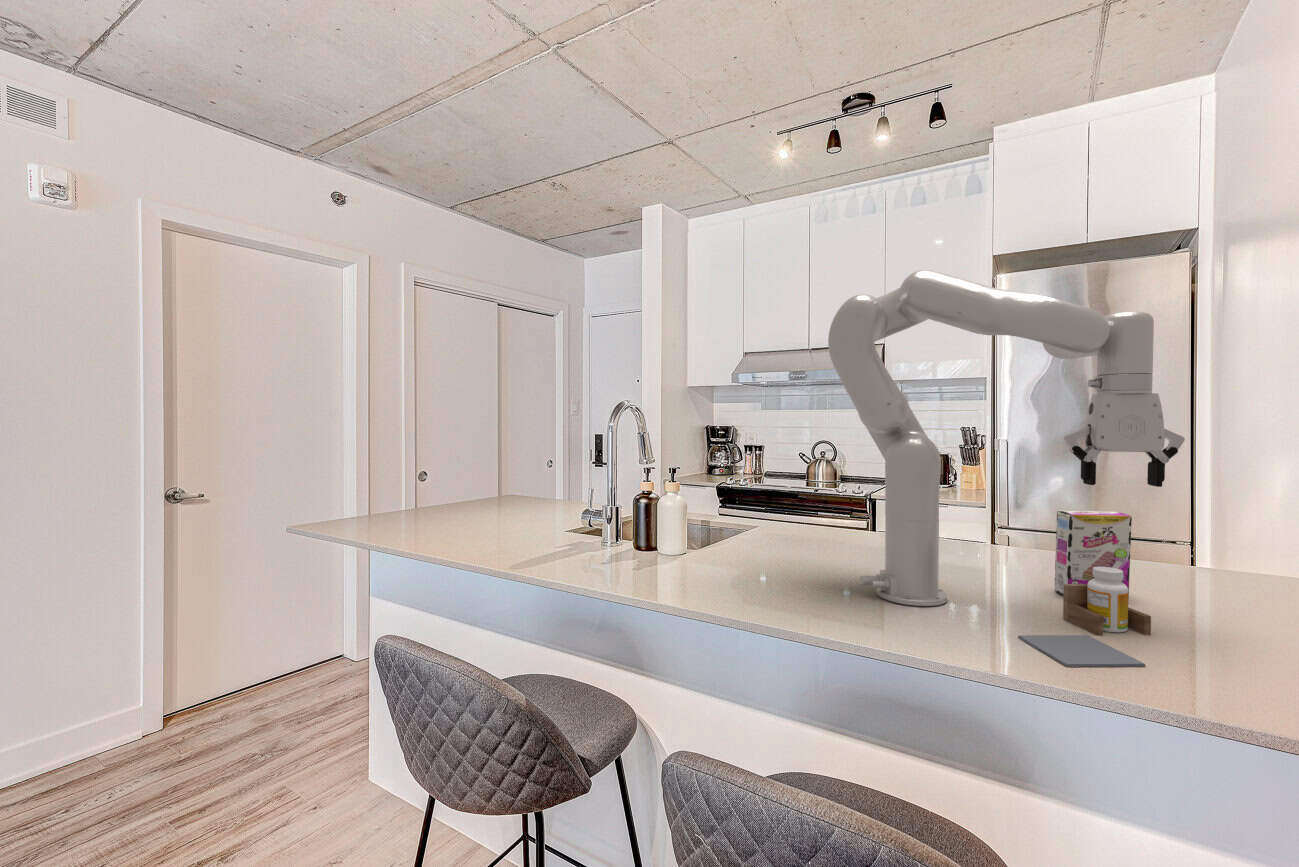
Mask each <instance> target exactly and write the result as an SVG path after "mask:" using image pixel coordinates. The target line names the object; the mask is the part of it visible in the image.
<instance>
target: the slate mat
mask: <svg viewBox="0 0 1299 867" xmlns="http://www.w3.org/2000/svg"><path fill="white" fill-rule="evenodd" d="M1017 638H1018V639H1019V640H1021V641H1023V642H1024V643H1025V644H1027V645H1029V646H1031V647H1032V648H1034V649H1035V650H1037V651H1039V652H1040V653H1042V654H1044V655H1046V656H1047V657H1049V658H1051V659H1053V660H1054V661H1055V662H1057V663H1059V664H1061V665H1062V666H1064V667H1065V668H1108V667H1109V668H1116V667H1117V668H1121V667H1122V668H1123V667H1124V668H1125V667H1126V668H1127V667H1128V668H1130V667H1132V668H1134V667H1137V668H1139V667H1140V668H1142V667H1143V668H1144V667H1146V663H1145V662H1143V661H1140V660H1139V659H1136V658H1134V657H1133V656H1130V655H1129V654H1126V653H1125V652H1122V651H1121V650H1119V649H1116V648H1115V647H1112V646H1111V645H1109V644H1106V643H1104V642H1102V641H1100V640H1099V639H1097V638H1094V637H1093V636H1090V635H1089V634H1060V635H1059V634H1056V635H1055V634H1052V635H1050V634H1039V635H1037V634H1033V635H1029V634H1027V635H1024V634H1022V635H1021V634H1020V635H1019V634H1018V636H1017Z"/></svg>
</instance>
